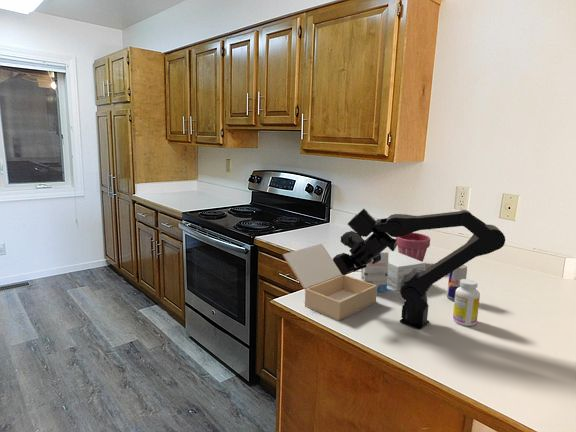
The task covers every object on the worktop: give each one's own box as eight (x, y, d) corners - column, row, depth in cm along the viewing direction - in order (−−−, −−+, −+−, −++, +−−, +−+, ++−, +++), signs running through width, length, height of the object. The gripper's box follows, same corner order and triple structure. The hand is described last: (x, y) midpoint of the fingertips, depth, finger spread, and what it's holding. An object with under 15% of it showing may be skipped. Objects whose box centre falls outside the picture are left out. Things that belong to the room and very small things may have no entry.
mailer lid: (321, 243, 144) (321, 244, 144) (283, 253, 130) (282, 254, 130) (343, 274, 138) (342, 275, 139) (305, 288, 124) (304, 289, 125)
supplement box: (424, 286, 145) (426, 262, 143) (396, 291, 140) (398, 266, 138) (394, 272, 160) (396, 250, 158) (368, 276, 155) (369, 253, 153)
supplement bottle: (473, 318, 119) (478, 278, 117) (479, 328, 113) (484, 286, 111) (450, 315, 121) (454, 276, 118) (454, 325, 115) (459, 284, 112)
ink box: (382, 286, 144) (384, 248, 141) (386, 292, 139) (389, 252, 136) (359, 287, 143) (362, 248, 140) (363, 292, 138) (366, 252, 135)
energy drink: (443, 297, 135) (446, 264, 133) (454, 294, 137) (458, 262, 135) (455, 303, 130) (459, 269, 128) (467, 300, 132) (471, 267, 130)
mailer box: (376, 302, 130) (377, 285, 128) (339, 321, 116) (339, 302, 115) (342, 290, 139) (343, 274, 138) (304, 306, 126) (305, 289, 124)
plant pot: (416, 272, 160) (419, 242, 157) (387, 263, 170) (389, 235, 168) (433, 265, 169) (436, 236, 167) (405, 257, 180) (407, 230, 177)
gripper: (374, 220, 125) (346, 246, 135) (338, 229, 113) (310, 257, 123) (395, 248, 121) (364, 273, 131) (360, 261, 109) (328, 287, 119)
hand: (342, 272), depth 126 cm, fingers closed
